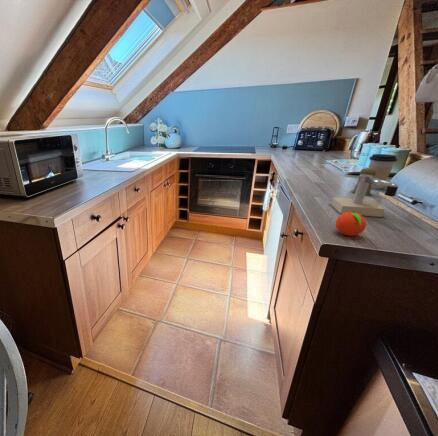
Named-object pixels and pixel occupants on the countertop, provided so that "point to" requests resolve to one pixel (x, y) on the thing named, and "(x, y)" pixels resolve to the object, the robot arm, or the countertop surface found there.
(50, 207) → the countertop surface
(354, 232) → the clementine
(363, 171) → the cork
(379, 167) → the coffee cup
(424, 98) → the robot arm
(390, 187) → the spout
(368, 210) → the base
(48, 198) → the countertop surface
